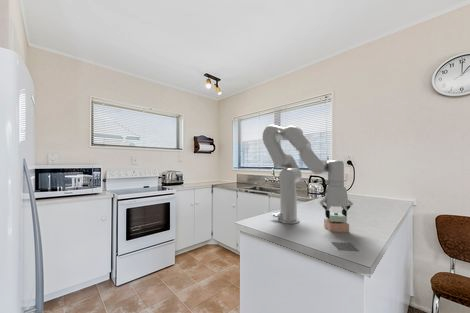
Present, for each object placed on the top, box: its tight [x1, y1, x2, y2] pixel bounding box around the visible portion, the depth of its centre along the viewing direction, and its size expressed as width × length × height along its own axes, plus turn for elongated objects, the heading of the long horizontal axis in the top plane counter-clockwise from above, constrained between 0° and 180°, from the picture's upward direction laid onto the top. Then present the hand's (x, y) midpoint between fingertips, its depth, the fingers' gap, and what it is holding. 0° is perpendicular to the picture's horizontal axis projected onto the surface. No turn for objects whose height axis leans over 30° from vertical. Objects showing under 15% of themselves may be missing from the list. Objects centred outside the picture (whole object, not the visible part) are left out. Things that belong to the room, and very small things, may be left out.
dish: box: [323, 217, 350, 234], centre depth 104 cm, size 9×9×4 cm
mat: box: [330, 241, 360, 252], centre depth 83 cm, size 8×8×1 cm
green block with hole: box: [325, 212, 348, 223], centre depth 104 cm, size 8×8×3 cm
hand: (335, 217), depth 104 cm, fingers closed on green block with hole, 7 cm apart
